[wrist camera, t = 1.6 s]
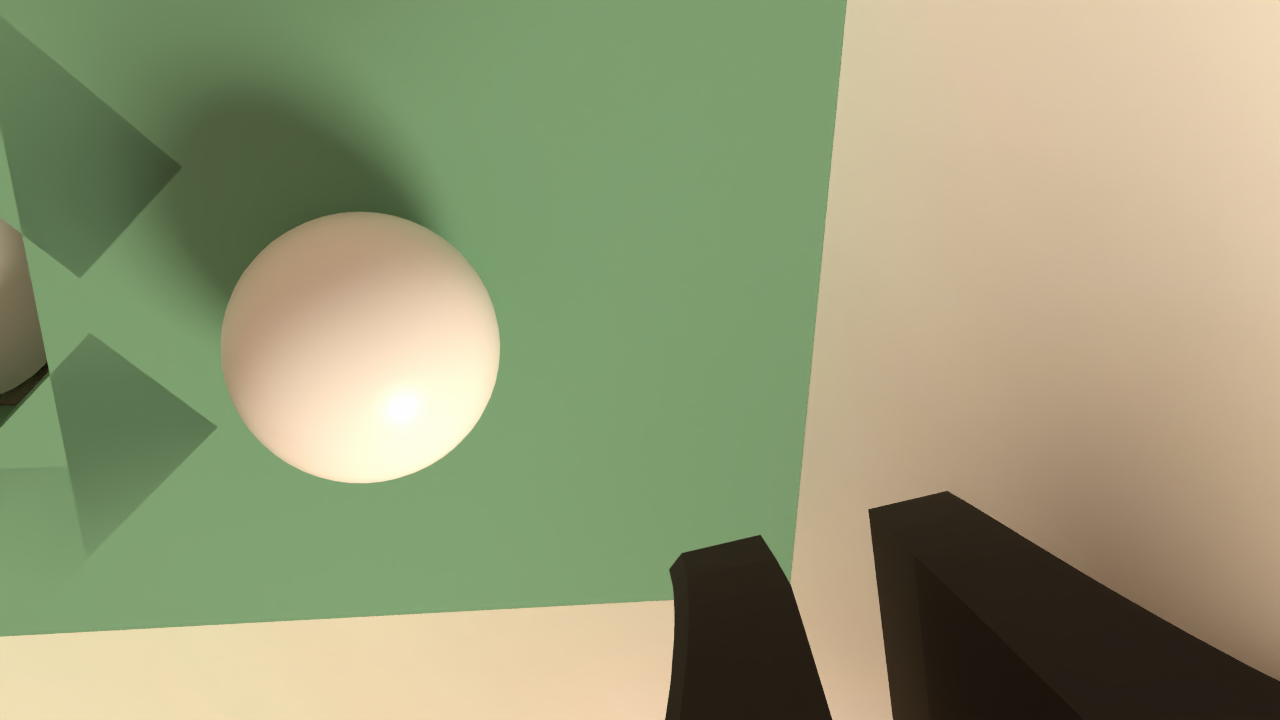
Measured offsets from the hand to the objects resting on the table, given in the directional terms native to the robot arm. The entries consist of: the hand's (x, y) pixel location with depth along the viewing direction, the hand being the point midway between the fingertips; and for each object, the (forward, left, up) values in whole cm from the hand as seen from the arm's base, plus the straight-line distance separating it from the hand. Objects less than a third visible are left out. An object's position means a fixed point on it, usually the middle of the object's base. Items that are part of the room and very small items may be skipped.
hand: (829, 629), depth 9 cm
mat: (+7, 0, -9) cm, 11 cm away
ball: (+4, 0, -6) cm, 7 cm away
